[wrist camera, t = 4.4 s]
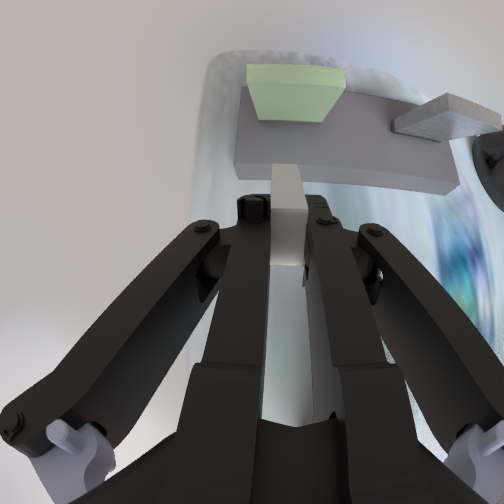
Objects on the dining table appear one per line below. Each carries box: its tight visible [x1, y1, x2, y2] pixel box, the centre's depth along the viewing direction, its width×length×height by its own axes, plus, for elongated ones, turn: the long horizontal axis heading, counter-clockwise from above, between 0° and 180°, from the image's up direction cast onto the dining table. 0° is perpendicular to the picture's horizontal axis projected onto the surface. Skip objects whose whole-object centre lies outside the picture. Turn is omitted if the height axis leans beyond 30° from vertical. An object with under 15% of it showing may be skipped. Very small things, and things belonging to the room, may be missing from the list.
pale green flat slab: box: [246, 64, 346, 124], centre depth 23 cm, size 2×7×13 cm, turn 86°
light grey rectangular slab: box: [390, 93, 502, 143], centre depth 21 cm, size 2×7×13 cm, turn 86°
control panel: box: [234, 87, 460, 196], centre depth 31 cm, size 12×28×4 cm, turn 87°
